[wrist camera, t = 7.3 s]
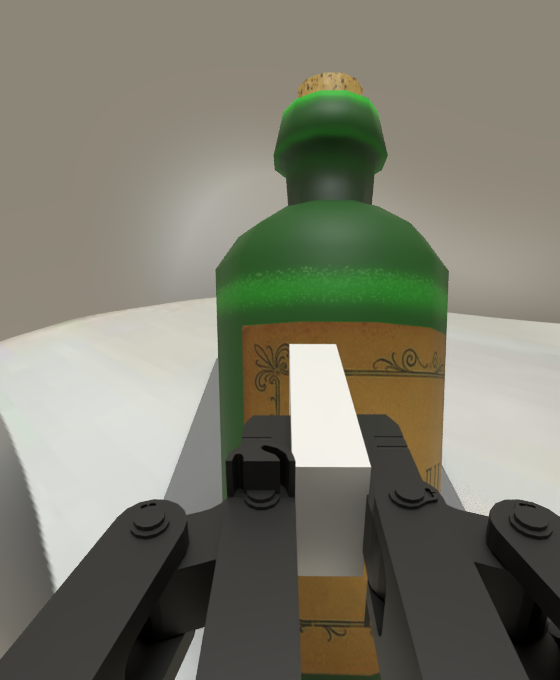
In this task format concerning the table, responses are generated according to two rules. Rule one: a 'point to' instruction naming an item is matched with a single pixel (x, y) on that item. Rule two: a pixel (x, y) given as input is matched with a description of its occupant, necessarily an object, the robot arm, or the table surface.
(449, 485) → the mat
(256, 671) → the robot arm
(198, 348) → the table surface
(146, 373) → the table surface
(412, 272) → the bottle
